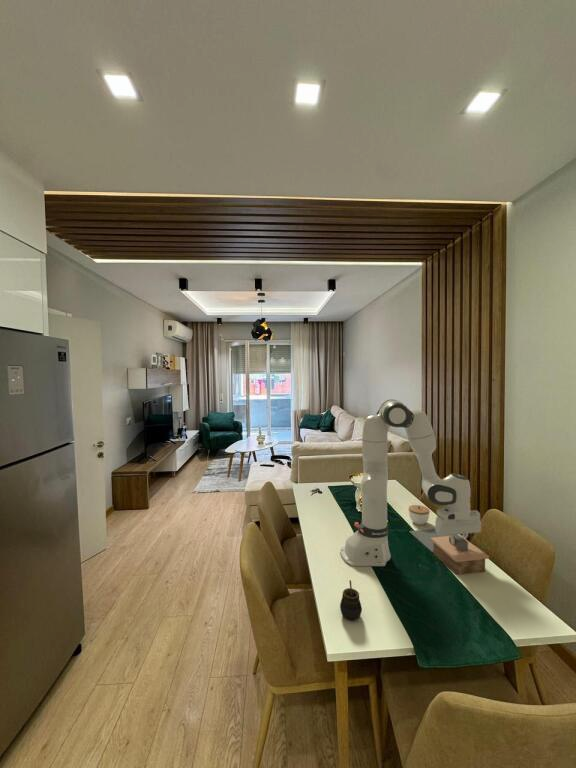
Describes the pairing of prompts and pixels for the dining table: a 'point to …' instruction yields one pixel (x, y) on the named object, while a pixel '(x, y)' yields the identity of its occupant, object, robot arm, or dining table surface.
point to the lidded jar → (419, 514)
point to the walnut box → (459, 563)
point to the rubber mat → (426, 537)
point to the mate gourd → (350, 604)
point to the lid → (459, 548)
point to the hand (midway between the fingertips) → (458, 542)
